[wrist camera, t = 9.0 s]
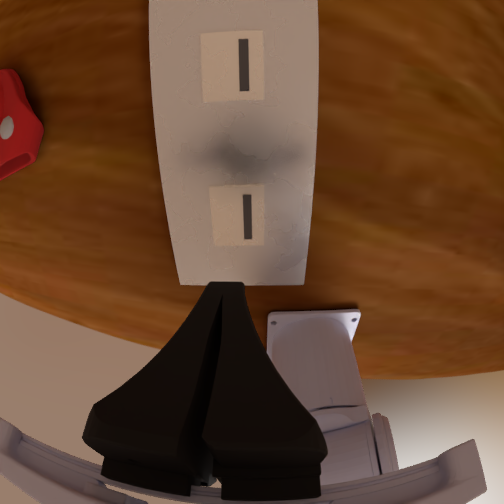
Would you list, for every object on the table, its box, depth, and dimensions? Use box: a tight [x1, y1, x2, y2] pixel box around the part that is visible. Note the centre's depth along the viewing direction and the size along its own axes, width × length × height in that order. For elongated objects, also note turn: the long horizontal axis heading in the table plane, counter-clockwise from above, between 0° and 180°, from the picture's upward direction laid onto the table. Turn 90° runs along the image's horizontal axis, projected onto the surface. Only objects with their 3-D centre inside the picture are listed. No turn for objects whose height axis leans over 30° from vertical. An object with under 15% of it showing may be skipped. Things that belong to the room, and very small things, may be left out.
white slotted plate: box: [149, 0, 319, 285], centre depth 15 cm, size 20×9×1 cm, turn 1°
